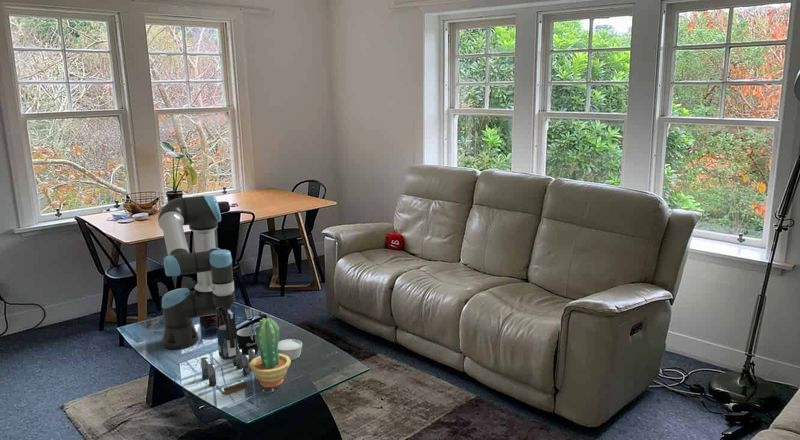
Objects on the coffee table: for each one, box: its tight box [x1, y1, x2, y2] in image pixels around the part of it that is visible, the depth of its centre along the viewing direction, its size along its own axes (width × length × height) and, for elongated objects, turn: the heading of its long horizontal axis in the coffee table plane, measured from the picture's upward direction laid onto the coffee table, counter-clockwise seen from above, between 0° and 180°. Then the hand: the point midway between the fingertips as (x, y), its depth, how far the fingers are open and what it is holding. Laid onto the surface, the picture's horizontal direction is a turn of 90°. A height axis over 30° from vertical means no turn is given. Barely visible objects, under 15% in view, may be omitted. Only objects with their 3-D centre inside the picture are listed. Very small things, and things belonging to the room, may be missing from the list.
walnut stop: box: [223, 380, 249, 396], centre depth 225 cm, size 1×8×2 cm, turn 125°
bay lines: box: [216, 384, 225, 395], centre depth 229 cm, size 7×9×1 cm
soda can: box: [216, 324, 239, 361], centre depth 225 cm, size 7×7×12 cm
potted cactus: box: [249, 317, 292, 388], centre depth 229 cm, size 15×15×25 cm
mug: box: [237, 326, 259, 356], centre depth 255 cm, size 12×9×10 cm
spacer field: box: [200, 347, 256, 387], centre depth 238 cm, size 13×20×8 cm, turn 126°
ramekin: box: [278, 338, 303, 361], centre depth 253 cm, size 11×11×5 cm
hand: (228, 351), depth 225 cm, fingers closed on soda can, 7 cm apart
